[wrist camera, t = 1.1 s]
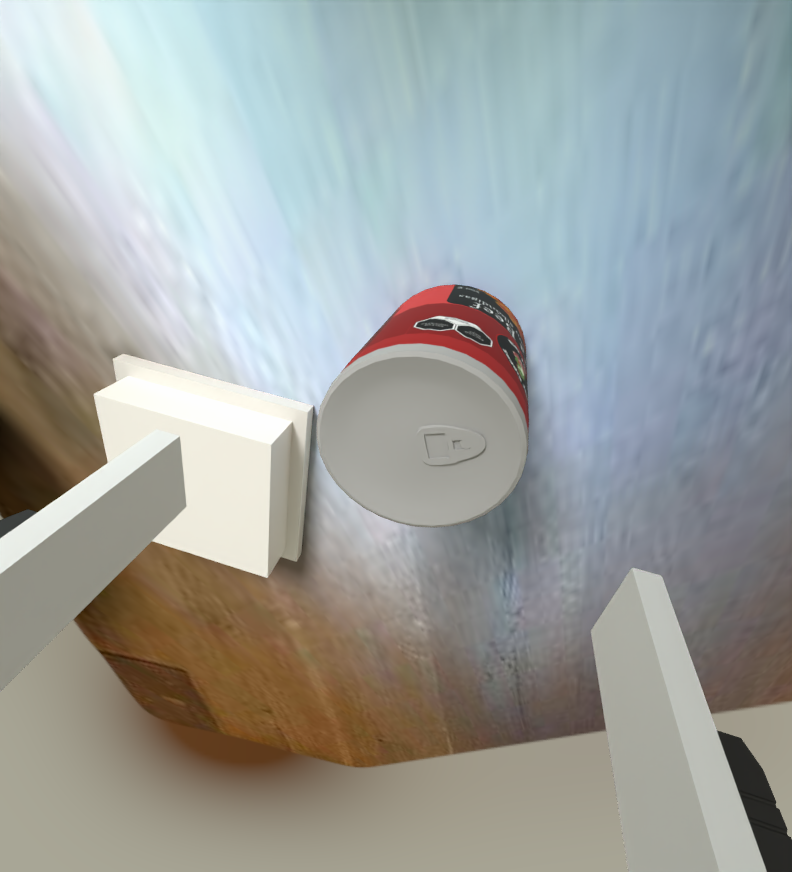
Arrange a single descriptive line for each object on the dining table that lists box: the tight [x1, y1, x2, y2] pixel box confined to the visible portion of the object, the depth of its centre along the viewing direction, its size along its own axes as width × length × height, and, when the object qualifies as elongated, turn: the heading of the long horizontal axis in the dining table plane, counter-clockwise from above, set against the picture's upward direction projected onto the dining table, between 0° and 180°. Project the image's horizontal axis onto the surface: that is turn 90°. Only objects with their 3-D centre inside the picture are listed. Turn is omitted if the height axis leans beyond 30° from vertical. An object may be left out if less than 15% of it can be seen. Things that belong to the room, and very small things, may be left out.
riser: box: [94, 354, 314, 578], centre depth 33 cm, size 14×14×4 cm
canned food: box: [317, 285, 529, 527], centre depth 21 cm, size 8×8×11 cm
